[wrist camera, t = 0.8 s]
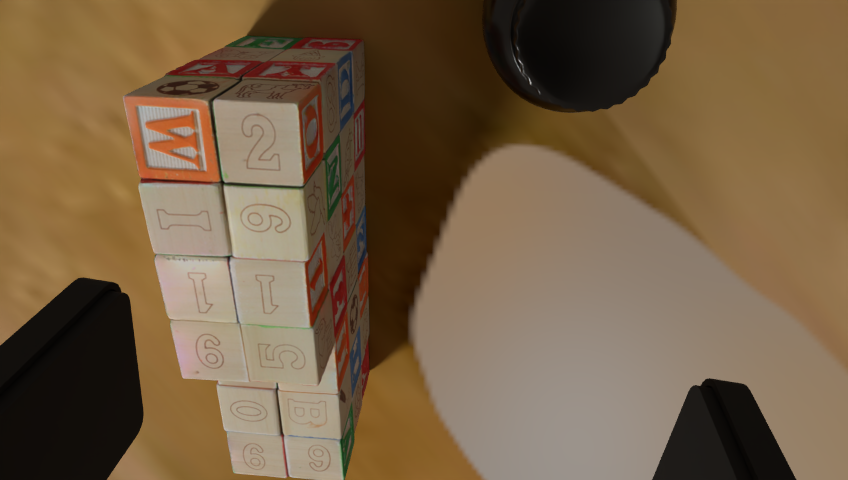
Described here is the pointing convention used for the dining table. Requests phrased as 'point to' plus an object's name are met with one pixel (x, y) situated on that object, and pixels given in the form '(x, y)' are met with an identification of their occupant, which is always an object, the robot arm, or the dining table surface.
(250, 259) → the stack of blocks
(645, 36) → the supplement bottle
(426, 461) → the dining table surface
